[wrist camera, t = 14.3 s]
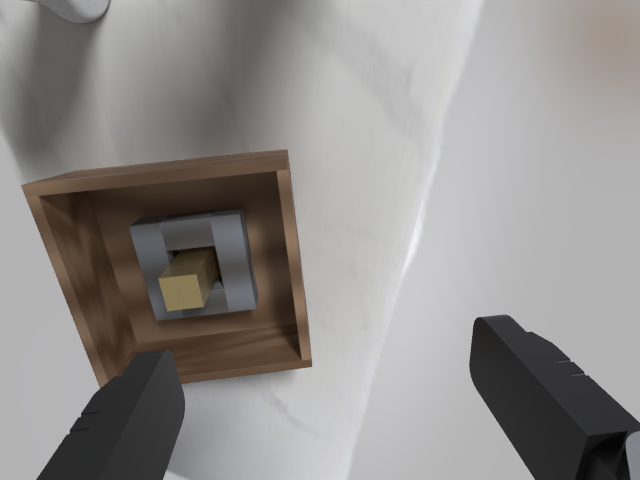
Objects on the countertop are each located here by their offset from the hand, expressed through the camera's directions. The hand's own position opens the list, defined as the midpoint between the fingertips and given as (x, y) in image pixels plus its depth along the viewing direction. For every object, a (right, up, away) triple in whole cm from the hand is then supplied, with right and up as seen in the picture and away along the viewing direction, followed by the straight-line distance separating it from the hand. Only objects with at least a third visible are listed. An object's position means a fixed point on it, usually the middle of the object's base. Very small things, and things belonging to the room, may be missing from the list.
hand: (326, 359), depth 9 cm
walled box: (-14, +1, +31) cm, 34 cm away
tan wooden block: (-14, +1, +30) cm, 33 cm away
